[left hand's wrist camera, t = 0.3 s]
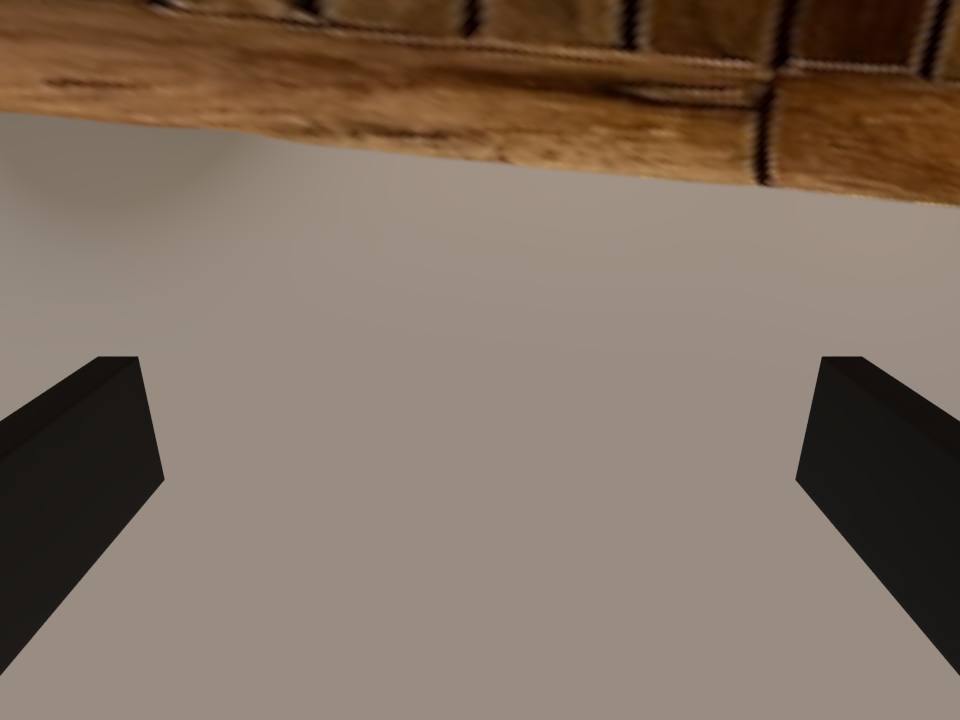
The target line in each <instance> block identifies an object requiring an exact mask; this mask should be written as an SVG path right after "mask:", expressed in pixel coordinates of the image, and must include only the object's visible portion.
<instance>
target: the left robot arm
mask: <svg viewBox="0 0 960 720" xmlns="http://www.w3.org/2000/svg"><path fill="white" fill-rule="evenodd" d="M795 480H796V481H797V482H798V483H799V485H800V486H801V487H802V488H803V489H804V491H805V492H806V493H807V494H808V495H809V496H810V498H811V499H812V500H813V501H814V502H815V504H816V505H817V506H818V507H819V508H820V510H821V511H822V512H823V513H824V514H825V516H826V517H827V518H828V519H829V520H830V522H831V523H832V524H833V525H834V526H835V528H836V529H837V530H838V531H839V532H840V533H841V535H842V536H843V537H844V538H845V539H846V541H847V542H848V543H849V544H850V545H851V547H852V548H853V549H854V550H855V551H856V553H857V554H858V555H859V556H860V557H861V559H862V560H863V561H864V562H865V563H866V565H867V566H868V567H869V568H870V569H871V570H872V572H873V573H874V574H875V575H876V576H877V578H878V579H879V580H880V581H881V582H882V584H883V585H884V586H885V587H886V588H887V590H888V591H889V592H890V593H891V594H892V596H893V597H894V598H895V599H896V600H897V601H898V603H899V604H900V605H901V606H902V607H903V609H904V610H905V611H906V612H907V613H908V615H909V616H910V617H911V618H912V619H913V621H914V622H915V623H916V624H917V625H918V627H919V628H920V629H921V630H922V631H923V632H924V634H925V635H926V636H927V637H928V638H929V640H930V641H931V642H932V643H933V644H934V646H935V647H936V648H937V649H938V650H939V652H940V653H941V654H942V655H943V656H944V658H945V659H946V660H947V661H948V662H949V664H950V665H951V666H952V667H953V668H954V669H955V671H956V672H957V673H958V674H959V675H960V421H958V420H957V419H955V418H954V417H952V416H951V415H949V414H948V413H946V412H945V411H943V410H942V409H940V408H939V407H937V406H936V405H934V404H933V403H931V402H930V401H928V400H927V399H925V398H924V397H922V396H921V395H919V394H918V393H916V392H915V391H913V390H912V389H910V388H909V387H907V386H906V385H904V384H903V383H901V382H900V381H898V380H897V379H895V378H894V377H892V376H890V375H889V374H888V373H886V372H885V371H883V370H881V369H880V368H879V367H877V366H875V365H874V364H872V363H871V362H869V361H868V360H866V359H865V358H863V357H822V359H821V364H820V368H819V373H818V377H817V382H816V387H815V391H814V396H813V400H812V405H811V410H810V415H809V419H808V424H807V428H806V433H805V438H804V442H803V447H802V451H801V456H800V461H799V465H798V470H797V475H796V479H795ZM163 481H164V475H163V470H162V465H161V461H160V456H159V452H158V447H157V442H156V438H155V433H154V428H153V424H152V419H151V414H150V410H149V405H148V401H147V396H146V391H145V387H144V382H143V377H142V373H141V368H140V364H139V359H138V357H97V358H95V359H94V360H92V361H91V362H89V363H88V364H86V365H85V366H83V367H82V368H80V369H78V370H77V371H75V372H74V373H72V374H71V375H69V376H68V377H66V378H65V379H63V380H62V381H60V382H59V383H57V384H56V385H54V386H53V387H51V388H50V389H48V390H47V391H45V392H44V393H42V394H41V395H39V396H38V397H36V398H35V399H33V400H32V401H30V402H29V403H27V404H26V405H24V406H23V407H21V408H20V409H18V410H17V411H15V412H14V413H12V414H11V415H9V416H8V417H6V418H5V419H3V420H2V421H0V675H1V674H2V673H3V672H4V671H5V669H6V668H7V667H8V666H9V665H10V663H11V662H12V661H13V660H14V659H15V658H16V656H17V655H18V654H19V653H20V652H21V650H22V649H23V648H24V647H25V646H26V644H27V643H28V642H29V641H30V640H31V638H32V637H33V636H34V635H35V634H36V632H37V631H38V630H39V629H40V628H41V627H42V625H43V624H44V623H45V622H46V621H47V619H48V618H49V617H50V616H51V615H52V613H53V612H54V611H55V610H56V609H57V607H58V606H59V605H60V604H61V603H62V601H63V600H64V599H65V598H66V597H67V595H68V594H69V593H70V592H71V591H72V590H73V588H74V587H75V586H76V585H77V584H78V582H79V581H80V580H81V579H82V578H83V576H84V575H85V574H86V573H87V572H88V570H89V569H90V568H91V567H92V566H93V564H94V563H95V562H96V561H97V560H98V558H99V557H100V556H101V555H102V554H103V552H104V551H105V550H106V549H107V548H108V547H109V545H110V544H111V543H112V542H113V541H114V539H115V538H116V537H117V536H118V535H119V533H120V532H121V531H122V530H123V529H124V528H125V526H126V525H127V524H128V523H129V522H130V520H131V519H132V518H133V517H134V516H135V514H136V513H137V512H138V511H139V510H140V508H141V507H142V506H143V505H144V504H145V502H146V501H147V500H148V499H149V498H150V496H151V495H152V494H153V493H154V492H155V490H156V489H157V488H158V487H159V486H160V485H161V483H162V482H163Z"/></svg>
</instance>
